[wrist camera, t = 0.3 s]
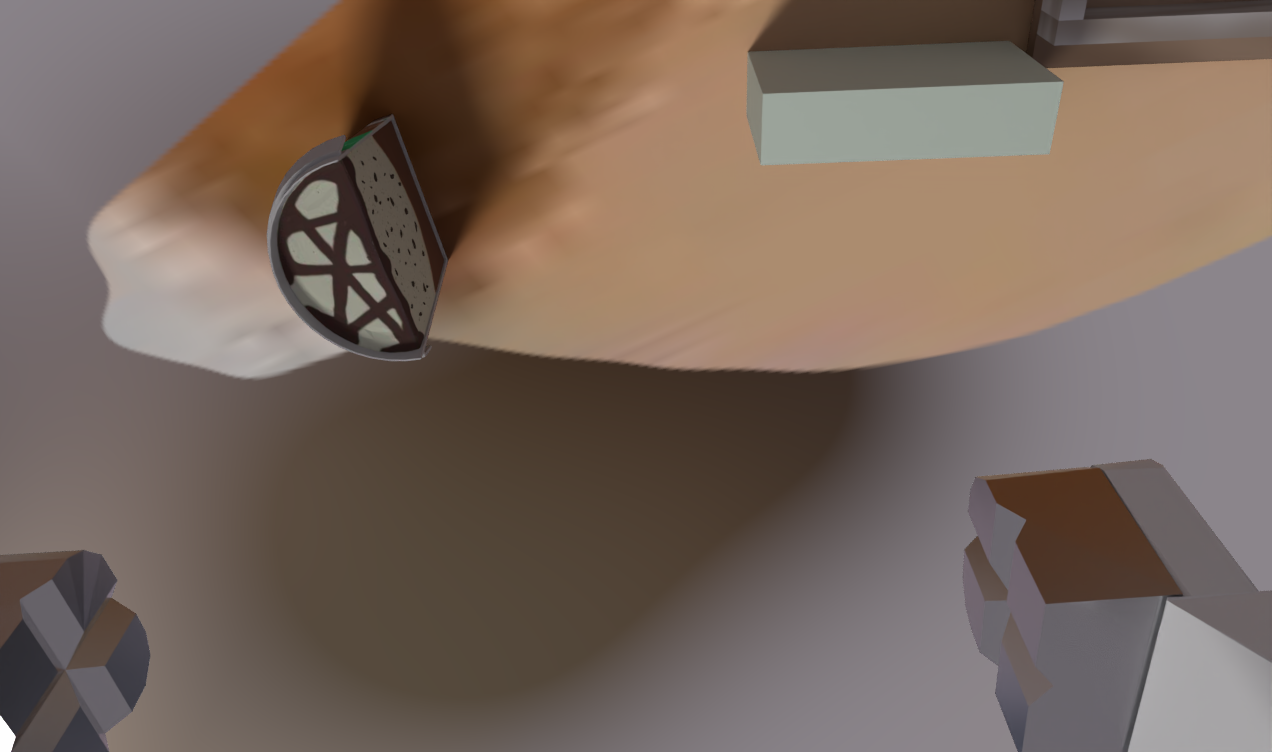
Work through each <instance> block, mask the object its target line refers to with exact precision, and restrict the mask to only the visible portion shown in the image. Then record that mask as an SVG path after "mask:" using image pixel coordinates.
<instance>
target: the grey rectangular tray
mask: <svg viewBox="0 0 1272 752" xmlns="http://www.w3.org/2000/svg"><path fill="white" fill-rule="evenodd" d="M1026 54H1028V55H1029V56H1030V57H1032V58H1033V59H1034V60H1036V61H1037V62H1038V63H1040V64H1041V65H1042V66H1044V67H1045V68H1062V67H1086V66H1110V65H1134V64H1158V63H1183V62H1207V61H1231V60H1255V59H1272V0H1035V5H1034V11H1033V17H1032V23H1031V29H1030V34H1029V40H1028V46H1027V52H1026Z"/></svg>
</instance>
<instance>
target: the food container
mask: <svg viewBox="0 0 1272 752" xmlns="http://www.w3.org/2000/svg"><path fill="white" fill-rule="evenodd" d="M345 139H346V137H345V135H342V136H339V137H337V138H334V139H331V140H328V141H326V142H324V143H322V144H320V145H318V146H317V147H315V148H313V149H311V150H310V151H309V152H307V153H306V154H305V155H304V156H302V157H301V158H300V159H299V160H297V162H296V163H295V164H294V165H293V166H292V168H291V169H290V170H289V171H288V172H287V173H286V175H285V177H284V179H283V180H282V182H281V184H280V186H279V188H278V190H277V193H276V196H275V199H274V202H273V205H272V209H271V212H270V216H269V222H268V230H267V245H268V254H269V258H270V263H271V267H272V271H273V274H274V277H275V279H276V282H277V284H278V287H279V289H280V291H281V292H282V294H283V296H284V297H285V299H286V301H287V303H288V304H289V305H290V306H291V308H292V309H293V310H294V311H295V313H296V314H297V315H298V316H299V317H300V318H301V319H302V320H303V321H304V322H305V323H306V324H307V325H308V326H309V327H310V328H311V329H312V330H314V331H315V332H316V333H318V334H319V335H320V336H322V337H323V338H324V339H326V340H328V341H330V342H331V343H333V344H335V345H337V346H339V347H340V348H343V349H345V350H348V351H350V352H352V353H355V354H358V355H362V356H365V357H369V358H373V359H380V360H387V361H410V360H418V359H421V358H422V357H425V356H426V355H427V354H428V352H429V351H430V350H431V348H432V347H431V345H429V346H426V342H427V339H428V335H429V331H430V327H431V324H432V320H433V316H434V312H435V309H436V305H437V301H438V297H439V293H440V290H441V286H442V282H443V278H444V275H445V271H446V267H447V263H448V259H447V256H446V254H445V251H444V248H443V246H442V243H441V240H440V238H439V235H438V233H437V230H436V227H435V225H434V222H433V219H432V217H431V214H430V211H429V209H428V206H427V203H426V201H425V198H424V195H423V193H422V190H421V187H420V185H419V182H418V180H417V177H416V174H415V172H414V169H413V166H412V164H411V161H410V158H409V156H408V153H407V150H406V148H405V145H404V142H403V140H402V137H401V135H400V132H399V129H398V127H397V124H396V121H395V119H394V116H393V114H391V115H388V116H385V117H382V118H379V119H377V120H374V121H373V122H371V123H370V124H369V125H367V126H366V127H365V128H363V129H362V130H361V131H359V132H358V133H357V134H355V135H354V136H352V137H351V138H350V139H348V140H347V141H346V142H345Z"/></svg>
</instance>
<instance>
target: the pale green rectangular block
mask: <svg viewBox="0 0 1272 752" xmlns="http://www.w3.org/2000/svg"><path fill="white" fill-rule="evenodd" d="M1063 82H1064V81H1062V80H1061V79H1060V78H1058V77H1057V76H1056V75H1054V74H1053V73H1052V72H1050V71H1049V70H1048V69H1046V68H1045V67H1044V66H1042V65H1041V64H1040V63H1038V62H1037V61H1036V60H1034V59H1033V58H1032V57H1030V56H1029V55H1028V54H1026V53H1025V52H1024V51H1022V50H1021V49H1020V48H1018V47H1017V46H1016V45H1014V44H1013V43H1012V42H1010V41H990V42H966V43H943V44H919V45H895V46H872V47H848V48H824V49H801V50H777V51H753V52H748V64H747V119H748V123H749V126H750V129H751V133H752V136H753V140H754V143H755V147H756V150H757V154H758V157H759V161H760V164H761V165H780V164H806V163H832V162H858V161H884V160H910V159H935V158H961V157H987V156H1013V155H1039V154H1050V149H1051V143H1052V138H1053V133H1054V128H1055V123H1056V118H1057V113H1058V108H1059V103H1060V98H1061V93H1062V87H1063Z"/></svg>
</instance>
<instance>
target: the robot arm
mask: <svg viewBox="0 0 1272 752" xmlns="http://www.w3.org/2000/svg"><path fill="white" fill-rule="evenodd" d="M968 513H969V516H970V518H971V521H972V523H973V525H974V528H975V530H976V532H977V535H978V536H977V537H976V538H975V539H974V540H973V541H972V542H971V543H970V544H969V545H968V546H967V547H966V548H965V550H964V564H963V584H964V594H965V605H966V610H967V614H968V618H969V622H970V626H971V629H972V633H973V635H974V638H975V641H976V644H977V646H978V649H979V652H980V653H981V654H983V655H984V656H985V657H987V658H988V659H989V660H991V661H992V662H993V663H995V664H996V665H998V674H997V683H996V692H995V694H996V697H997V699H998V702H999V704H1000V707H1001V710H1002V712H1003V714H1004V717H1005V720H1006V722H1007V725H1008V728H1009V730H1010V733H1011V735H1012V737H1013V740H1014V743H1015V746H1016V748H1017V751H1018V752H1272V591H1260V592H1259V591H1258V590H1257V588H1256V587H1255V586H1254V584H1253V583H1252V582H1251V580H1250V579H1249V578H1248V577H1247V575H1246V574H1245V573H1244V571H1243V570H1242V569H1241V567H1240V566H1239V565H1238V563H1237V562H1236V561H1235V559H1234V558H1233V557H1232V556H1231V554H1230V553H1229V552H1228V550H1227V549H1226V548H1225V547H1224V545H1223V544H1222V542H1221V541H1220V540H1219V539H1218V537H1217V536H1216V535H1215V533H1214V532H1213V531H1212V529H1211V528H1210V527H1209V526H1208V524H1207V523H1206V521H1205V520H1204V519H1203V518H1202V516H1201V515H1200V514H1199V512H1198V511H1197V510H1196V509H1195V507H1194V506H1193V504H1192V503H1191V502H1190V501H1189V499H1188V498H1187V497H1186V495H1185V494H1184V493H1183V491H1182V490H1181V489H1180V487H1179V486H1178V485H1177V483H1176V482H1175V481H1174V479H1173V478H1172V477H1171V476H1170V474H1169V473H1168V472H1167V470H1166V469H1165V468H1164V466H1163V465H1161V464H1159V463H1157V462H1155V461H1154V460H1152V459H1147V460H1138V461H1128V462H1118V463H1109V464H1100V465H1092V466H1091V467H1082V468H1071V469H1059V470H1048V471H1036V472H1027V473H1026V472H1025V473H1014V474H1004V475H1003V474H1002V475H992V476H981V477H975V479H974V482H973V484H972V487H971V489H970V497H969V506H968ZM116 583H117V579H116V577H115V575H114V574H113V572H112V571H111V569H110V568H109V566H108V564H107V563H106V561H105V560H104V558H103V556H102V555H101V554H97V553H93V552H89V551H85V550H78V551H62V552H44V553H27V554H10V555H0V752H109V748H108V744H107V740H106V735H105V733H106V732H107V731H108V730H110V729H111V728H112V727H113V726H115V725H116V724H117V723H118V722H120V721H121V720H122V719H123V718H125V717H126V716H127V715H128V714H130V713H131V712H132V711H133V709H134V707H135V705H136V703H137V701H138V699H139V697H140V695H141V693H142V691H143V689H144V687H145V686H146V679H147V672H148V666H149V660H150V650H149V645H148V640H147V635H146V631H145V629H144V628H143V626H142V624H141V622H140V620H139V618H138V616H137V614H136V613H134V612H133V611H131V610H130V609H128V608H127V607H125V606H123V605H122V604H120V603H119V602H117V601H116V600H114V599H112V598H111V597H112V594H113V592H114V589H115V586H116Z"/></svg>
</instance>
